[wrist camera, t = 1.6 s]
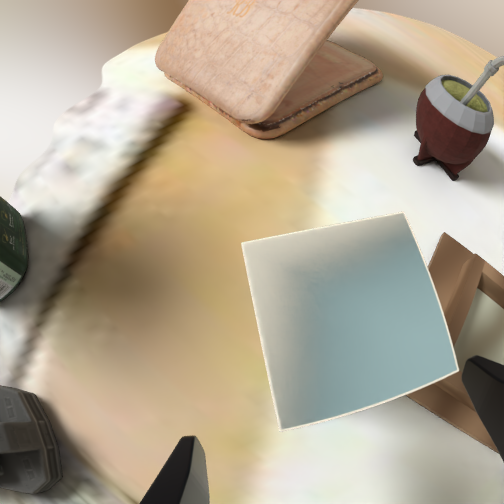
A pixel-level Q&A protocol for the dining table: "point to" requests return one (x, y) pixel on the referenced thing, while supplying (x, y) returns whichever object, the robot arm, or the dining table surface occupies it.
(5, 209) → the coffee jar
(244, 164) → the dining table surface
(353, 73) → the case
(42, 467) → the zipper pull
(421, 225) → the dining table surface
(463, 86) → the mate gourd
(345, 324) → the pale blue rectangular block
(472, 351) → the picture frame
